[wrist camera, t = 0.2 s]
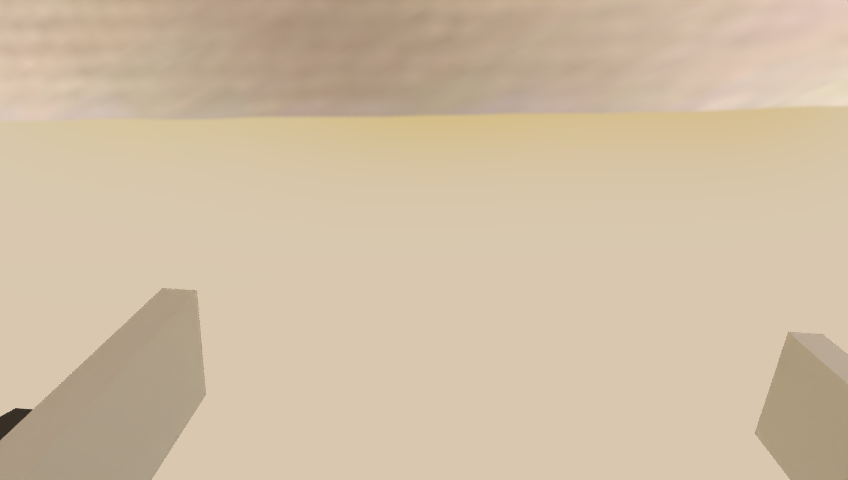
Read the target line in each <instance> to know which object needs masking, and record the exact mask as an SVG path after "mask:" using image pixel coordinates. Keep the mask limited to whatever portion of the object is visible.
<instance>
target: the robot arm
mask: <svg viewBox="0 0 848 480" xmlns="http://www.w3.org/2000/svg"><path fill="white" fill-rule="evenodd" d="M205 395H206V391H205V379H204V367H203V357H202V344H201V333H200V321H199V311H198V299H197V291H195V290H180V289H166V288H163V289H161V290H160V291H159V292H158V293H157V294H156V295H155V296H154V297H153V298H152V299H151V300H149V301H148V302H147V303H146V304H145V305H144V306H143V307H142V308H141V309H140V310H139V311H138V312H137V313H136V314H135V315H134V316H132V317H131V318H130V319H129V320H128V321H127V322H126V323H125V324H124V325H123V326H122V327H121V328H120V329H119V330H117V332H116V333H114V334H113V335H112V336H111V337H110V338H109V339H108V340H107V341H106V342H105V343H104V344H103V345H101V346H100V347H99V348H98V349H97V350H96V351H95V352H94V353H93V354H92V355H91V356H90V357H89V358H88V359H87V360H85V361H84V362H83V363H82V364H81V365H80V366H79V367H78V368H77V369H76V370H75V371H74V372H73V373H72V374H71V375H69V377H67V378H66V379H65V380H64V381H63V382H62V383H61V384H60V385H59V386H58V387H57V388H56V389H55V390H53V391H52V392H51V393H50V394H49V395H48V396H47V397H46V398H45V399H44V400H43V401H42V402H41V403H40V404H39V405H37V406H36V407H35V408H34V409H33V410H32V409H18V408H15V409H14V410H12V411H10V412H8V413H6V414H4V415H3V416H1V417H0V480H151V479H152V478H153V476H154V475H155V473H156V472H157V470H158V469H159V467H160V465H161V464H162V462H163V461H164V459H165V458H166V456H167V455H168V453H169V451H170V450H171V448H172V447H173V445H174V444H175V442H176V441H177V439H178V437H179V436H180V434H181V432H182V431H183V429H184V428H185V426H186V425H187V423H188V422H189V420H190V418H191V417H192V415H193V414H194V412H195V411H196V409H197V408H198V406H199V404H200V403H201V401H202V400H203V398H204V397H205ZM755 434H756V436H757V437H758V438H759V439H760V441H761V442H762V443H763V445H764V446H765V447H766V449H767V450H768V451H769V452H770V454H771V455H772V456H773V458H774V459H775V460H776V461H777V463H778V464H779V465H780V467H781V468H782V469H783V470H784V472H785V473H786V474H787V476H788V477H789V478H790V480H848V354H847V353H846V352H844V351H843V350H842V349H841V348H839V347H838V346H837V345H836V344H834V343H833V342H832V341H830V340H829V339H828V338H827V337H826V336H824V335H823V334H811V333H796V332H788V334H787V338H786V340H785V343H784V346H783V350H782V353H781V355H780V358H779V362H778V365H777V368H776V371H775V374H774V377H773V380H772V383H771V386H770V389H769V392H768V395H767V398H766V401H765V404H764V407H763V410H762V413H761V416H760V419H759V422H758V425H757V428H756V431H755Z"/></svg>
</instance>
